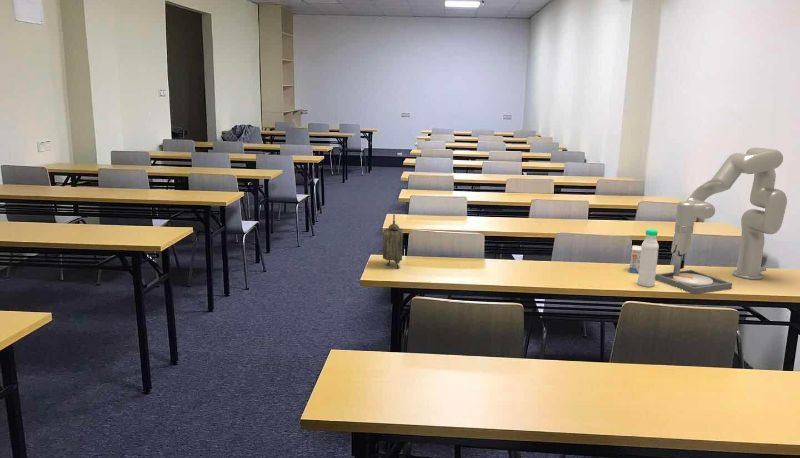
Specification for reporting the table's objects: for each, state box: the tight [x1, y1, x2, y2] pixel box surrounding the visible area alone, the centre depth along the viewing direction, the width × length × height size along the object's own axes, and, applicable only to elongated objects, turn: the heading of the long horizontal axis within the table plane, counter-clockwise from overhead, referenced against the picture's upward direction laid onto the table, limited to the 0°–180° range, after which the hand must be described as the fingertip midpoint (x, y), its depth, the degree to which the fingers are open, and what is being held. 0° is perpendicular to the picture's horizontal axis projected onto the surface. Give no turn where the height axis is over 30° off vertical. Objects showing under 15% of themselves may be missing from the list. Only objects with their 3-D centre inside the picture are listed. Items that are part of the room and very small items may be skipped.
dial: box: [672, 255, 713, 287], centre depth 269 cm, size 16×16×10 cm
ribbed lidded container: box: [382, 214, 404, 269], centre depth 289 cm, size 14×9×25 cm, turn 179°
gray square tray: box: [655, 269, 733, 295], centre depth 270 cm, size 22×22×3 cm
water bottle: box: [637, 228, 660, 288], centre depth 266 cm, size 7×7×25 cm
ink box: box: [628, 245, 642, 274], centre depth 288 cm, size 9×8×12 cm
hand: (679, 268), depth 277 cm, fingers closed
